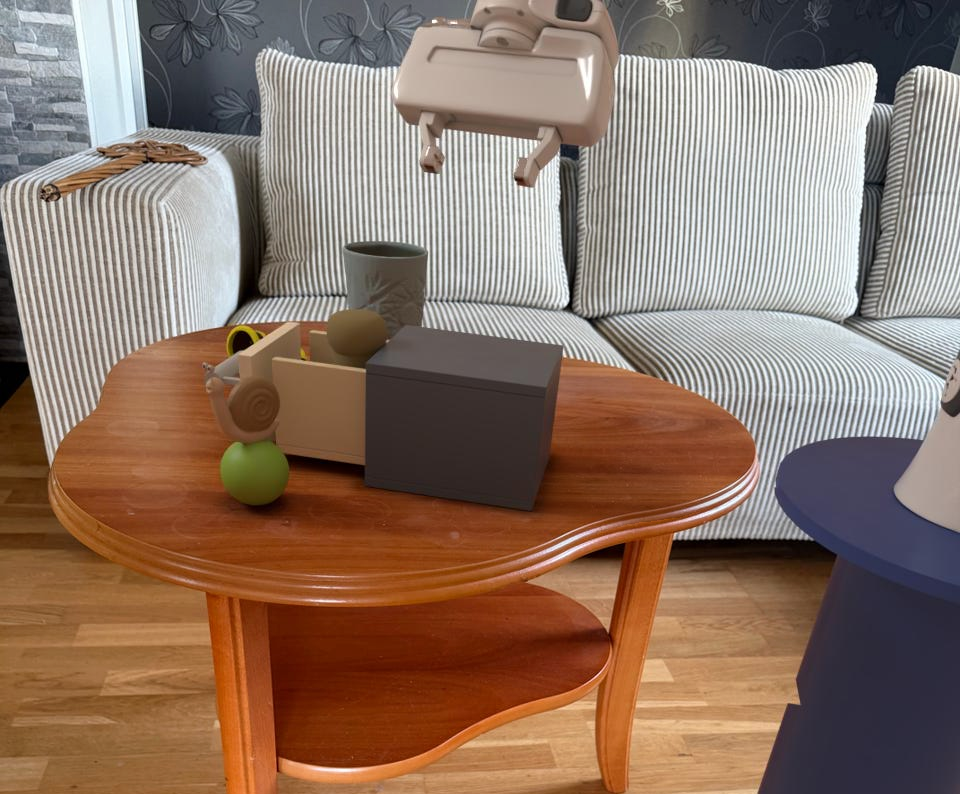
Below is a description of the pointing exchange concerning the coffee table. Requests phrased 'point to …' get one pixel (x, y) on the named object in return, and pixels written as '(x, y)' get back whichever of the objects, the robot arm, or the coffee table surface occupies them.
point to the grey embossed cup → (387, 281)
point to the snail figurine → (249, 438)
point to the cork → (355, 336)
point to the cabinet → (461, 416)
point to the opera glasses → (245, 340)
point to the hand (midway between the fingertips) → (474, 176)
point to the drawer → (306, 394)
